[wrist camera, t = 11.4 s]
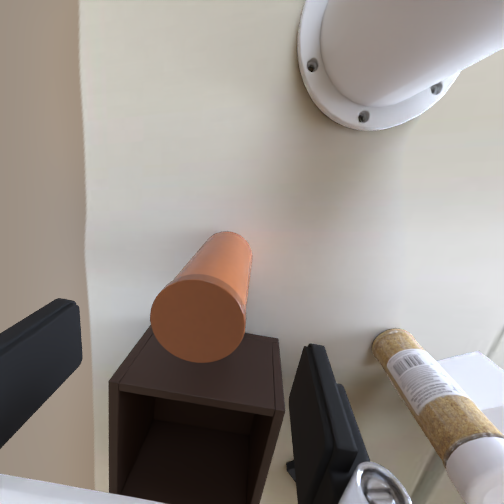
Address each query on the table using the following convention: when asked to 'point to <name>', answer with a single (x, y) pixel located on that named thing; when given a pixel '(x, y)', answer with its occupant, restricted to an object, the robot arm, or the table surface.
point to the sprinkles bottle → (446, 418)
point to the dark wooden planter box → (195, 423)
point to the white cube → (479, 383)
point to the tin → (206, 302)
